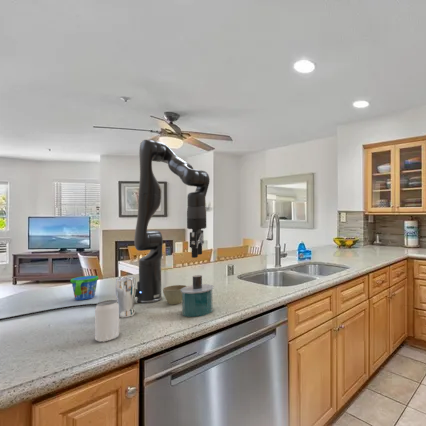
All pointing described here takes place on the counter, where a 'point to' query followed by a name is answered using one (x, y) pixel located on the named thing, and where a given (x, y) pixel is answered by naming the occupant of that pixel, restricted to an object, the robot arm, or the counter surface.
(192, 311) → the canister
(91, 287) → the blue green tapered container
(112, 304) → the can
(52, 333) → the counter surface
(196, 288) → the lid
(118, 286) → the beer glass
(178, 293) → the flower pot
